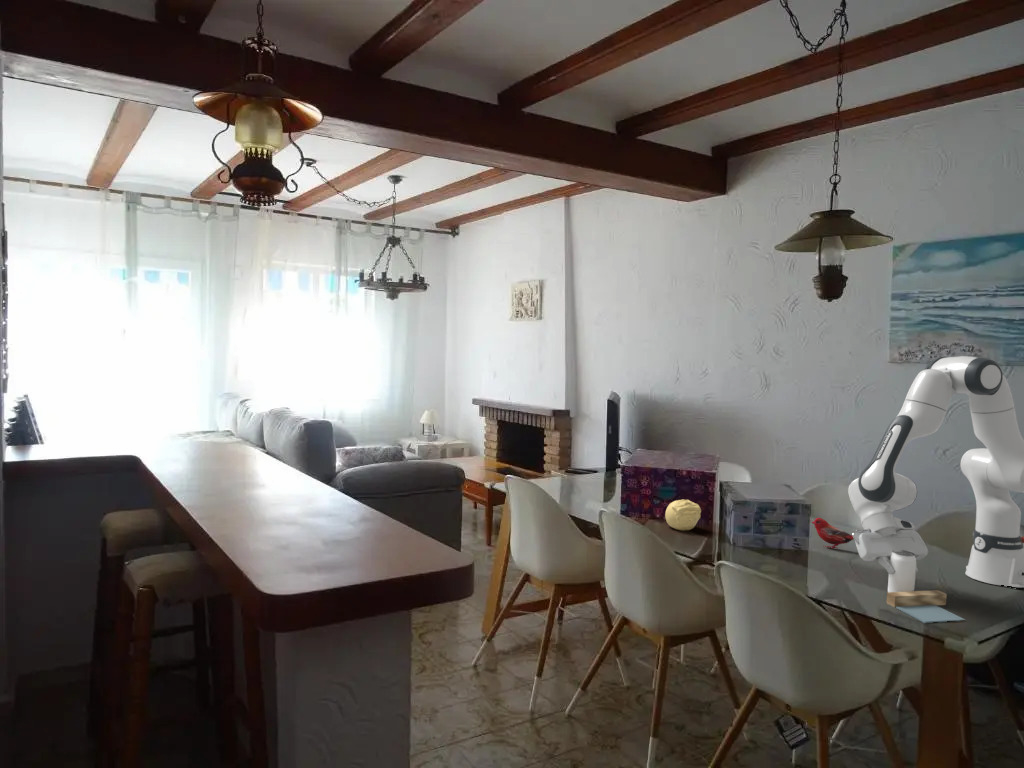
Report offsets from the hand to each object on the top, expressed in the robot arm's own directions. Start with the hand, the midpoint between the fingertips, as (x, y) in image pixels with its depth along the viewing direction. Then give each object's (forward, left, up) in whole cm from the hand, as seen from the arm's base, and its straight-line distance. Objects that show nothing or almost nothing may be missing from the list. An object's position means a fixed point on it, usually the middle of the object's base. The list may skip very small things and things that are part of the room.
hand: (903, 573), depth 200 cm
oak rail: (+1, +6, -6) cm, 9 cm away
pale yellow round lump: (+33, -72, -7) cm, 79 cm away
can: (0, -1, -7) cm, 7 cm away
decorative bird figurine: (-10, -42, -7) cm, 43 cm away
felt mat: (+3, +13, -6) cm, 15 cm away
